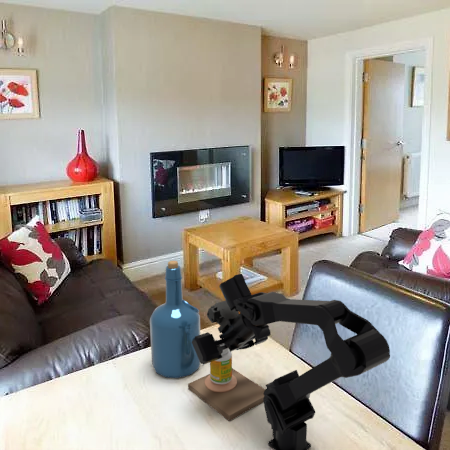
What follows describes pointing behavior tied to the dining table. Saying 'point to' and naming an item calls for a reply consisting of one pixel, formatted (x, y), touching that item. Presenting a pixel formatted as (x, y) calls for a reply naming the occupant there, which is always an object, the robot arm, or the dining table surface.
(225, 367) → the supplement bottle
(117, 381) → the dining table surface
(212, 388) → the coaster
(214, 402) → the walnut board
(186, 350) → the wine bottle
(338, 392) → the dining table surface
